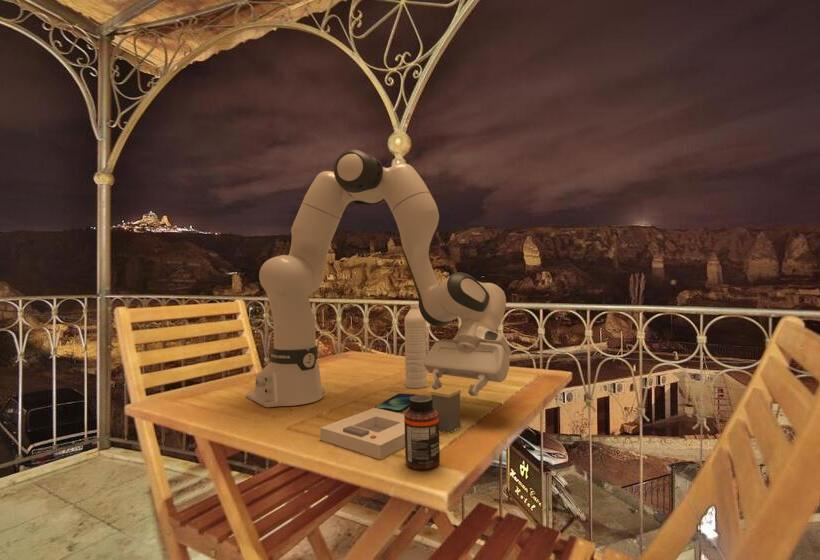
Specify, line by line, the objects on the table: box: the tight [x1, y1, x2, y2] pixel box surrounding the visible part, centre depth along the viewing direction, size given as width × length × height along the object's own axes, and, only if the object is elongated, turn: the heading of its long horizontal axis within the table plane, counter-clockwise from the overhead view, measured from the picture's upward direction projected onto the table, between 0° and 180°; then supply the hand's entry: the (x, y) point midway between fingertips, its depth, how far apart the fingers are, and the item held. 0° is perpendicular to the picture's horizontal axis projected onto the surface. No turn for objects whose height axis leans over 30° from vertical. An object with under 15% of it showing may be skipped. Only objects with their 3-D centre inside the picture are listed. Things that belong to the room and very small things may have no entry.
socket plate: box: [319, 407, 405, 460], centre depth 84 cm, size 16×16×3 cm
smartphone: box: [374, 392, 417, 414], centre depth 107 cm, size 8×1×15 cm
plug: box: [430, 386, 462, 434], centre depth 88 cm, size 5×5×8 cm
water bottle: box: [404, 303, 428, 389], centre depth 125 cm, size 9×6×25 cm
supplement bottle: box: [403, 394, 441, 471], centre depth 71 cm, size 6×6×11 cm
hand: (453, 391), depth 91 cm, fingers open, 8 cm apart
